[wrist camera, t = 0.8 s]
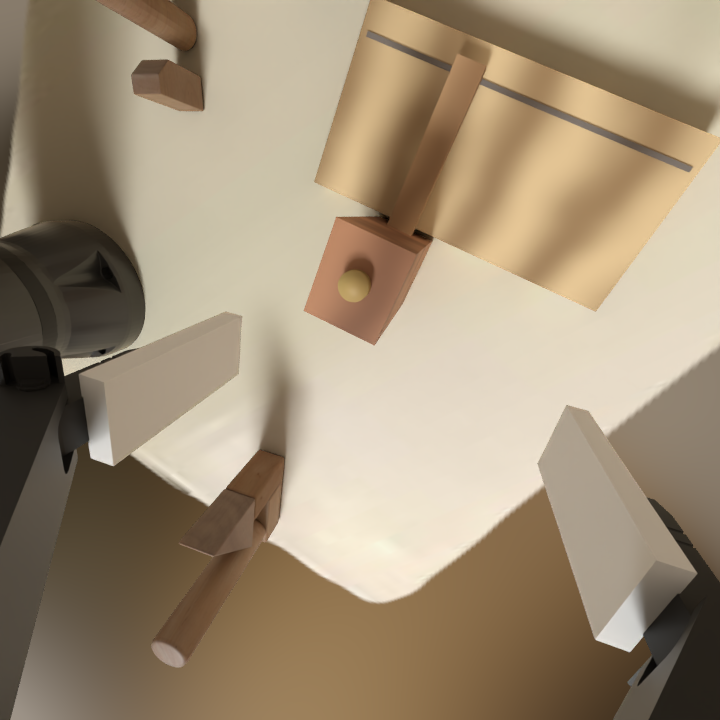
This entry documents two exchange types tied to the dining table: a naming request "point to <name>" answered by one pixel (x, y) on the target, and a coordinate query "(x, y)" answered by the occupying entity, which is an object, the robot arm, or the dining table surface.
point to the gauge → (390, 228)
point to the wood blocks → (162, 77)
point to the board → (510, 156)
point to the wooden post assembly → (223, 552)
